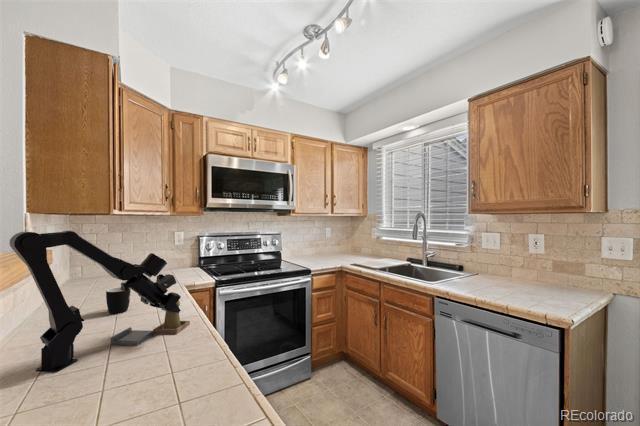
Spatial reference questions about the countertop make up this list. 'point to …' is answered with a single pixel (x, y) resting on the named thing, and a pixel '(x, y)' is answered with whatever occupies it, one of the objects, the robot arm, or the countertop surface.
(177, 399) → the countertop surface
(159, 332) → the socket collar
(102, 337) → the countertop surface
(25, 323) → the countertop surface
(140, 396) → the countertop surface
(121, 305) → the mug
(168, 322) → the cork
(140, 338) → the gray hardcover book
